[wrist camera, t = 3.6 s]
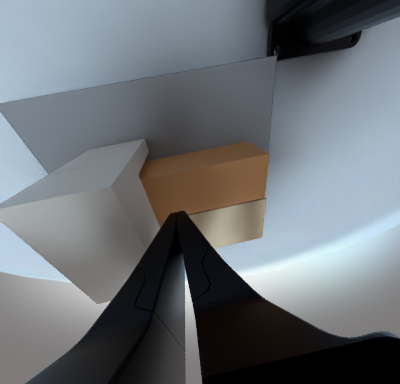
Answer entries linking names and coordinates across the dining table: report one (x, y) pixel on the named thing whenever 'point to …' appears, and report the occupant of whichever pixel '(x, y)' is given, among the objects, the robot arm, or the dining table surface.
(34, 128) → the board
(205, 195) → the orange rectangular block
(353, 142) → the dining table surface
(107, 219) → the block
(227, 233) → the pad
